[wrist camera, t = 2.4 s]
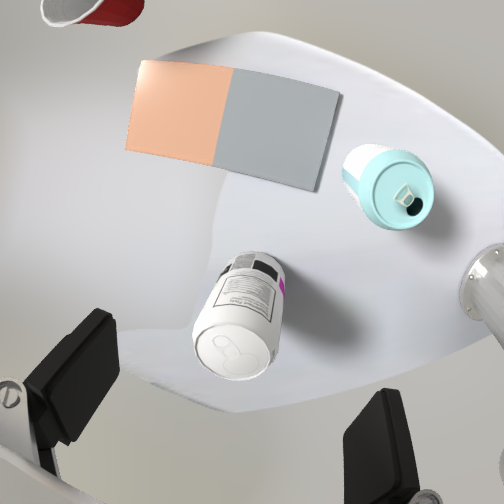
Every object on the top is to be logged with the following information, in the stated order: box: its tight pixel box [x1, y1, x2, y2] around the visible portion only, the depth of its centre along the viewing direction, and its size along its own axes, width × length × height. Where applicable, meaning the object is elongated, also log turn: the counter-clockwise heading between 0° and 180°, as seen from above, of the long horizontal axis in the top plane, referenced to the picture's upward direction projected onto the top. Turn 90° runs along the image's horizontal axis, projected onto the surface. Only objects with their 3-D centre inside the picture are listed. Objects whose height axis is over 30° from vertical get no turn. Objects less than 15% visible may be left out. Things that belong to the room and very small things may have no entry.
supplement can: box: [192, 251, 285, 381], centre depth 33 cm, size 8×8×15 cm
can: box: [342, 144, 434, 231], centre depth 27 cm, size 7×7×12 cm
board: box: [125, 60, 339, 192], centre depth 32 cm, size 24×12×1 cm, turn 77°
